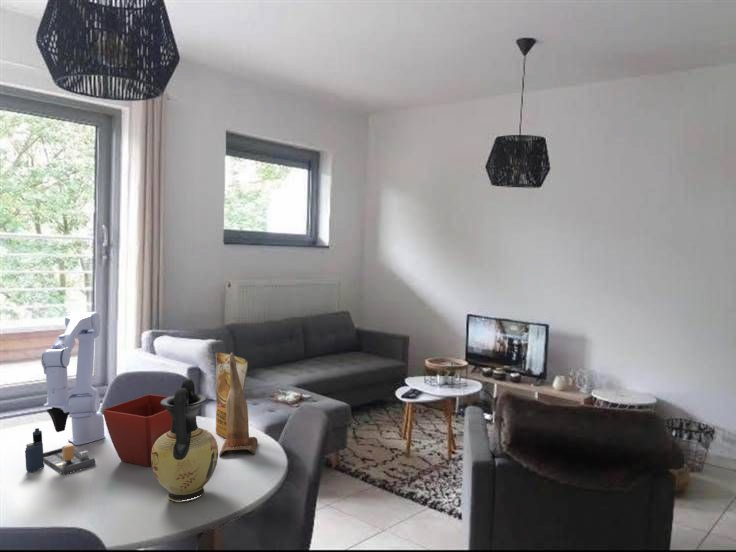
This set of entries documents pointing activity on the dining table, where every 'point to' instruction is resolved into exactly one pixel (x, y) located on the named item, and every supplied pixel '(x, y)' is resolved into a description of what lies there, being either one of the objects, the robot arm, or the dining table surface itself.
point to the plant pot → (137, 427)
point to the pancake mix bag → (226, 387)
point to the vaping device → (34, 452)
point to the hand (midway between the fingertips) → (60, 430)
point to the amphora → (184, 447)
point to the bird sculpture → (237, 415)
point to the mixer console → (77, 463)
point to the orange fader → (68, 453)
